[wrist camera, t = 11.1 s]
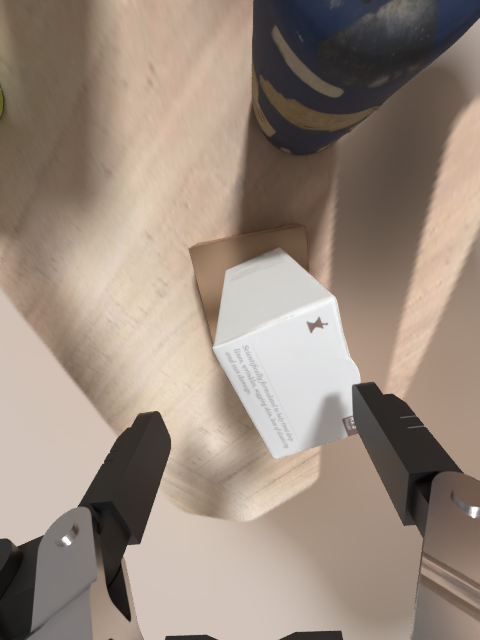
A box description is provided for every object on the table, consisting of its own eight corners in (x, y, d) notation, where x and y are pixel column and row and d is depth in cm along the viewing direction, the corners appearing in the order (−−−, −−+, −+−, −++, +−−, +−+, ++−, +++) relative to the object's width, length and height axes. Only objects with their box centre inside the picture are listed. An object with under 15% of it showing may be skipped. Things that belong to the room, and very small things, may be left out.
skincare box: (225, 269, 24) (197, 341, 11) (283, 244, 23) (336, 287, 10) (257, 339, 27) (267, 467, 14) (310, 320, 26) (380, 437, 12)
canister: (381, 75, 22) (800, -364, 5) (312, 180, 25) (435, 116, 9) (292, -6, 20) (498, -1048, 3) (231, 119, 23) (188, -110, 7)
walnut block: (198, 242, 28) (188, 248, 24) (295, 223, 27) (305, 225, 22) (219, 329, 32) (214, 348, 28) (304, 315, 31) (314, 333, 27)
